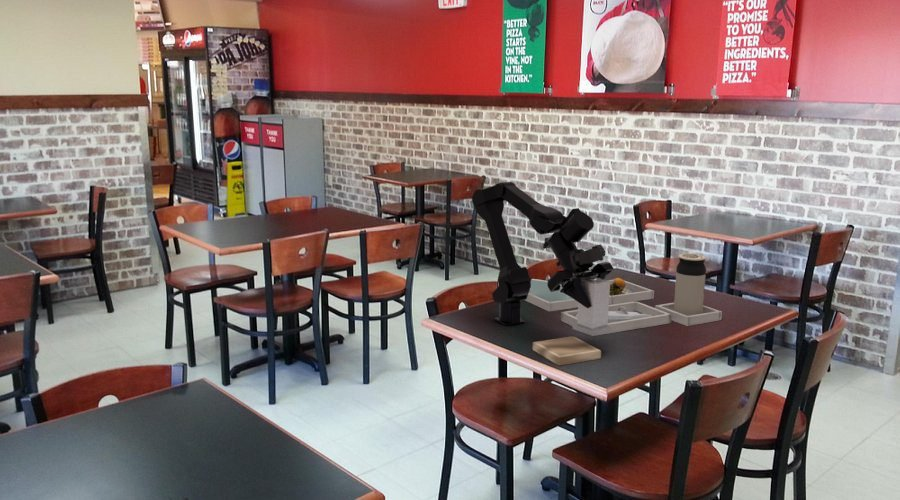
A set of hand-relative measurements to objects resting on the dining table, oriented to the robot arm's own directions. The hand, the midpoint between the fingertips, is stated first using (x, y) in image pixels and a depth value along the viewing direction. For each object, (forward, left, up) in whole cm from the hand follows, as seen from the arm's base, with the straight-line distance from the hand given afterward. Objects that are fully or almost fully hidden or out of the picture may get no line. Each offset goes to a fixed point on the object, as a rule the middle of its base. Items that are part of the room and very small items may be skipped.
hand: (597, 305), depth 179 cm
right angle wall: (-43, +18, -13) cm, 49 cm away
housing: (-1, 0, -7) cm, 7 cm away
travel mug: (-13, +43, -12) cm, 47 cm away
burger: (-41, +39, -13) cm, 58 cm away
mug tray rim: (-13, +43, -12) cm, 47 cm away
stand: (-2, -7, -12) cm, 14 cm away
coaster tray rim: (-43, +18, -12) cm, 49 cm away
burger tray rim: (-41, +39, -12) cm, 58 cm away
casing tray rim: (-18, +21, -12) cm, 31 cm away
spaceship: (-21, +22, -13) cm, 33 cm away
